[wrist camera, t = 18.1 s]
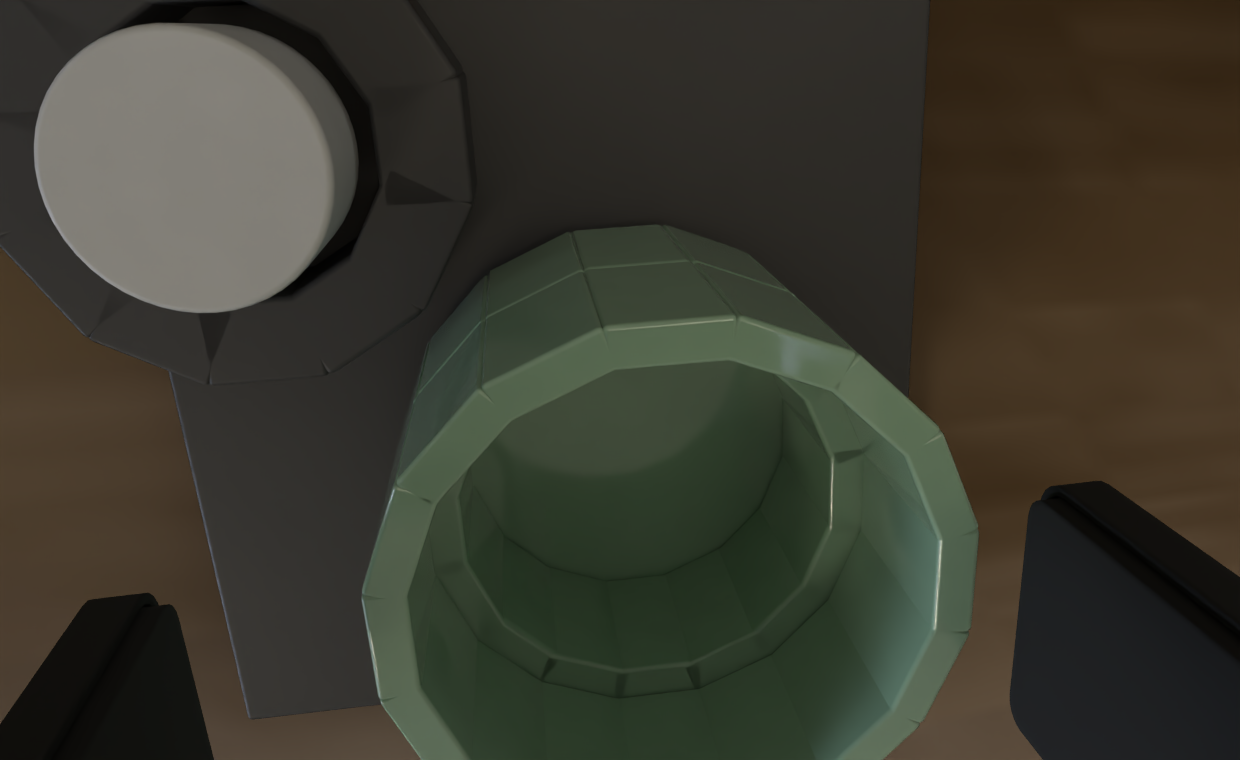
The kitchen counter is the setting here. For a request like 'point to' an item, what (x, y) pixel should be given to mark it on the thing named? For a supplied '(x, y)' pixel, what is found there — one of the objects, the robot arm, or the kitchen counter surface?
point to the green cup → (661, 522)
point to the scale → (479, 238)
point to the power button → (195, 163)
